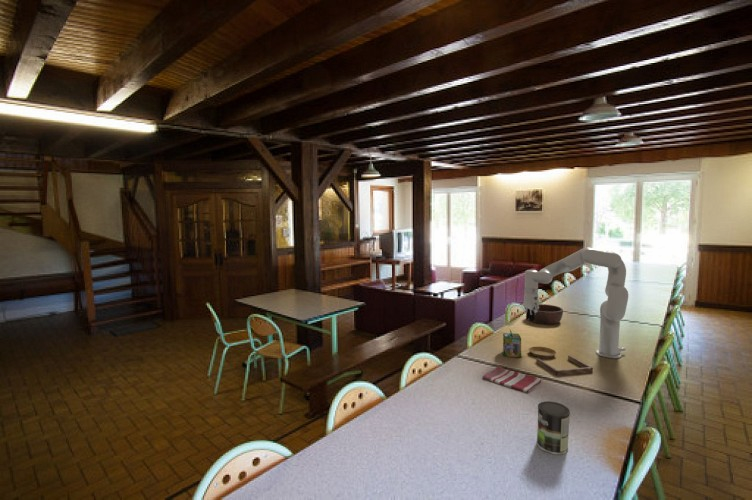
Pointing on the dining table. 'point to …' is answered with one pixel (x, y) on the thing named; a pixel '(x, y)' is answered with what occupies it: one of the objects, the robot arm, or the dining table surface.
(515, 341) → the chalk box
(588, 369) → the display frame
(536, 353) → the plant saucer
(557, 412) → the coffee can
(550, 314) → the wooden bowl
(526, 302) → the robot arm
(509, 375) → the dish towel
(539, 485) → the dining table surface
